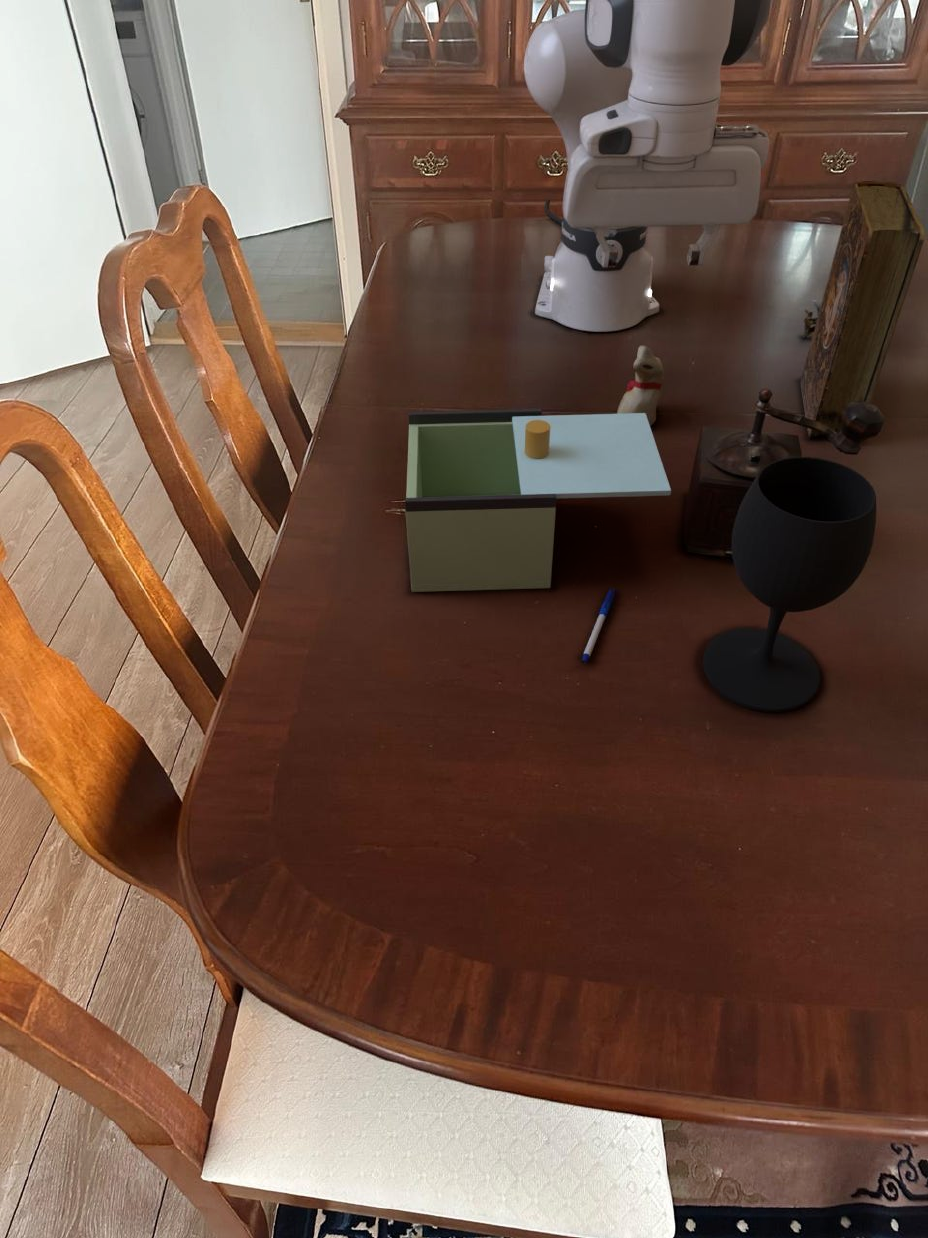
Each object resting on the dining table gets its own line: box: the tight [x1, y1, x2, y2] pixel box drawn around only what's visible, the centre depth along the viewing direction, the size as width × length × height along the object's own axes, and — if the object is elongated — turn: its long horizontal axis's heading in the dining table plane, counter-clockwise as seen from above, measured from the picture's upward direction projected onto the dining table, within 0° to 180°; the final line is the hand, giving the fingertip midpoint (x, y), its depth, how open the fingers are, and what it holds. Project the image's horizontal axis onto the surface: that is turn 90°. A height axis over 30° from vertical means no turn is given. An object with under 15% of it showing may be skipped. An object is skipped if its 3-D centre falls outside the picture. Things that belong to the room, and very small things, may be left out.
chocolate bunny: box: [616, 345, 666, 427], centre depth 110 cm, size 6×8×10 cm
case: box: [404, 407, 557, 593], centre depth 92 cm, size 16×14×11 cm
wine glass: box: [702, 456, 877, 713], centre depth 74 cm, size 10×10×20 cm
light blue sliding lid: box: [512, 413, 672, 500], centre depth 87 cm, size 14×14×4 cm
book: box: [800, 180, 926, 439], centre depth 105 cm, size 16×6×25 cm, turn 168°
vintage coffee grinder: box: [682, 388, 885, 560], centre depth 90 cm, size 16×11×18 cm
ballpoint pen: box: [581, 587, 616, 664], centre depth 85 cm, size 10×1×1 cm, turn 160°
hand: (651, 264), depth 98 cm, fingers open, 8 cm apart
